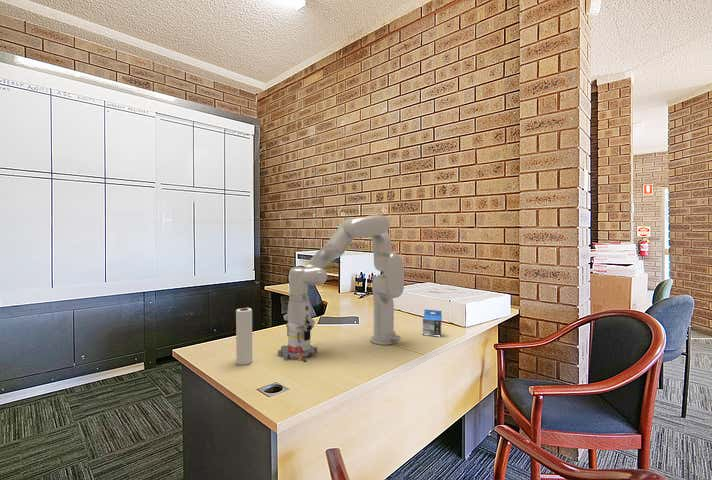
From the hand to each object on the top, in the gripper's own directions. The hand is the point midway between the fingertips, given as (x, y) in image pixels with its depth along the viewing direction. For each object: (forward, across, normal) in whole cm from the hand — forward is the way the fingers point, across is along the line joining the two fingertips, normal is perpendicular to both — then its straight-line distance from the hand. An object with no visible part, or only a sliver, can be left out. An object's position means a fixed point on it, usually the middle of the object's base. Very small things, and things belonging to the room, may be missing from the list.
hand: (298, 337), depth 150 cm
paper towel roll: (+7, +12, +18) cm, 23 cm away
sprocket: (+7, +2, -1) cm, 8 cm away
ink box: (+6, 0, 0) cm, 6 cm away
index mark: (+7, -7, +4) cm, 11 cm away
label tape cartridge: (+8, -34, -59) cm, 69 cm away
